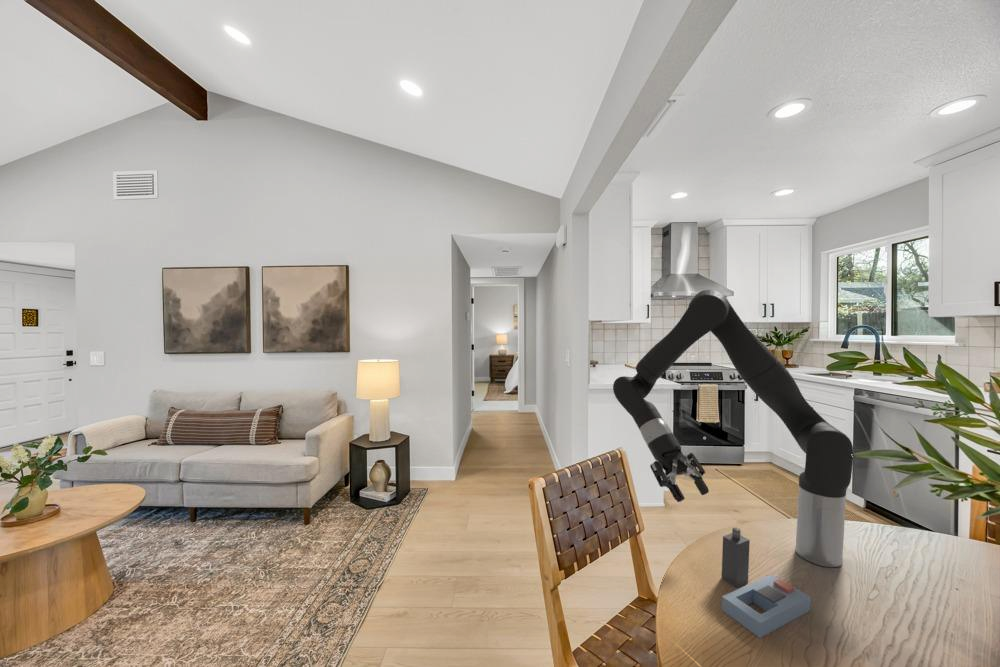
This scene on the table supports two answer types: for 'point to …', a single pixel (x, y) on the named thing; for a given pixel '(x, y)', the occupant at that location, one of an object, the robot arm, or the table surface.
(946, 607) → the table surface
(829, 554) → the robot arm
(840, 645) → the table surface
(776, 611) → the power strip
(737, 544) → the black plug
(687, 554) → the table surface
